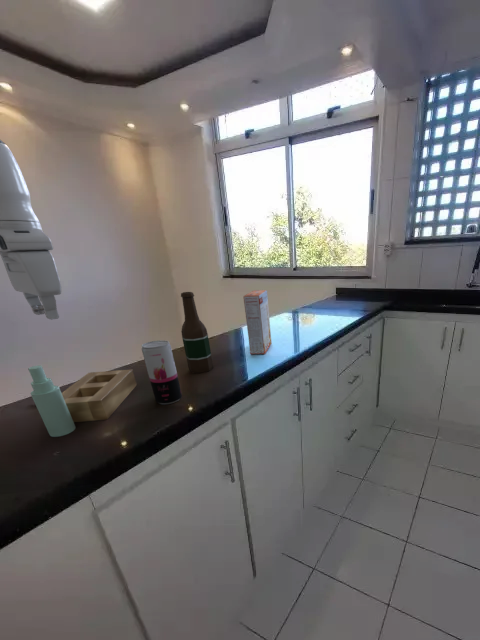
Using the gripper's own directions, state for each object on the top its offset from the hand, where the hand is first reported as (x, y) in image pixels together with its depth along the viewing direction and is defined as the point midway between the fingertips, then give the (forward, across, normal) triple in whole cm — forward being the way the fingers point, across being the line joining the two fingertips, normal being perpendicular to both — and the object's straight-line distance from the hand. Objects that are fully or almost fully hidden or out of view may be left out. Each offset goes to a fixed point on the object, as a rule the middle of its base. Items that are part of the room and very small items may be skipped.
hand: (46, 316), depth 63 cm
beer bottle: (+24, -5, +36) cm, 43 cm away
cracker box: (+24, -5, +63) cm, 67 cm away
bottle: (+24, +3, -6) cm, 25 cm away
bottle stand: (+24, -6, +5) cm, 25 cm away
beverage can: (+24, +8, +17) cm, 30 cm away
